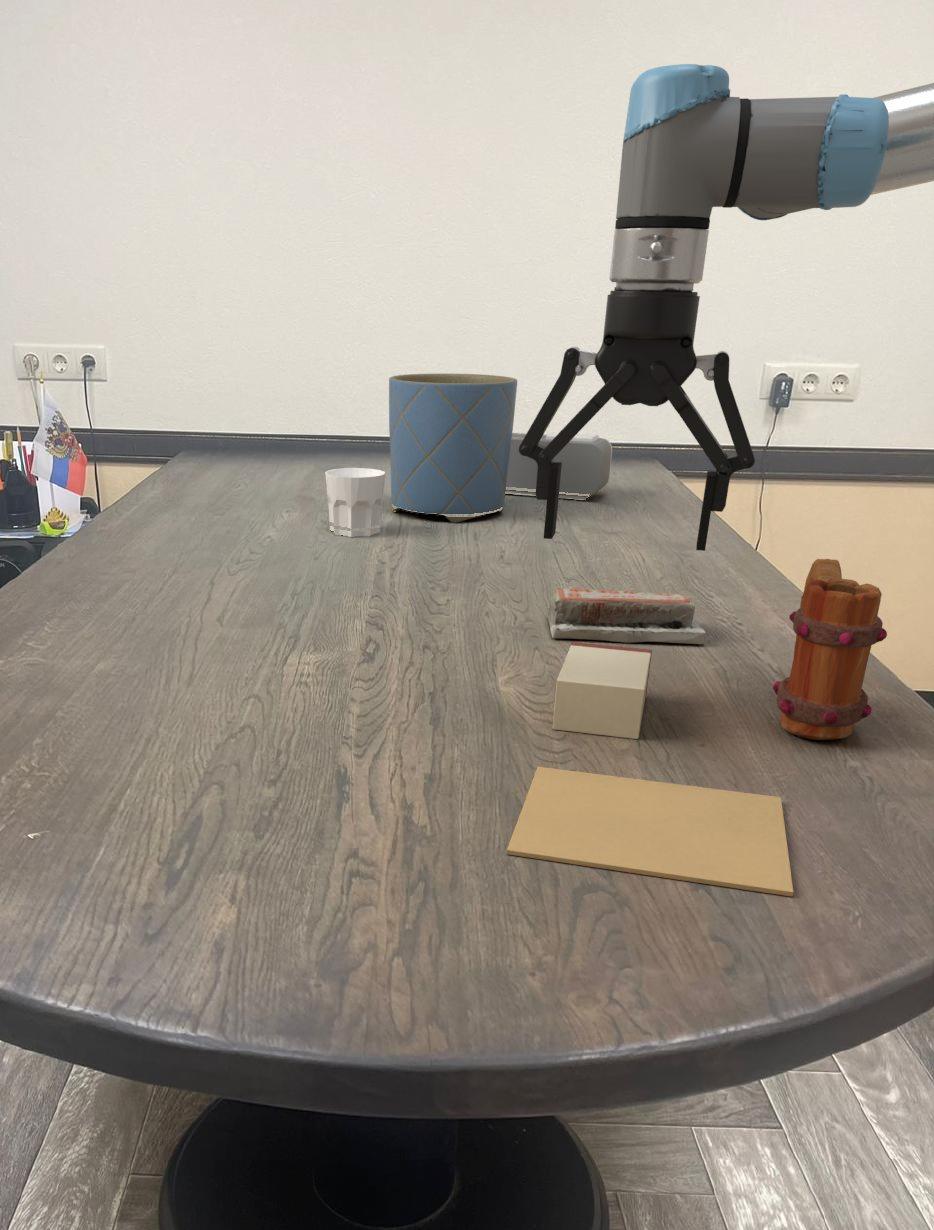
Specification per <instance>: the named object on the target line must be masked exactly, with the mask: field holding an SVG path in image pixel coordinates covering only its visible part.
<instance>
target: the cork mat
mask: <svg viewBox="0 0 934 1230" xmlns="http://www.w3.org/2000/svg"><path fill="white" fill-rule="evenodd" d="M506 855H509V856H515V857H522V858H530V859H537V860H542V861H549V862H556V863H562V864H570V865H575V866H583V867H590V868H596V869H603V870H610V871H616V872H622V873H629V874H630V873H632V874H637V875H643V876H650V877H657V878H664V879H671V880H678V881H683V882H690V883H697V884H702V885H703V884H704V885H709V886H717V887H722V888H723V887H724V888H729V889H730V888H731V889H738V890H745V891H751V892H758V893H764V894H772V895H777V896H784V897H791V898H792V897H794V887H793V885H794V884H793V878H792V870H791V863H790V855H789V847H788V839H787V832H786V824H785V817H784V809H783V801H782V797H781V796H774V795H765V794H759V793H751V792H750V793H749V792H742V791H734V790H726V789H719V788H710V787H703V786H695V785H687V784H678V783H672V782H662V781H656V780H655V781H654V780H648V779H639V778H632V777H624V776H616V775H609V774H599V773H591V772H584V771H576V770H567V769H560V768H553V767H544V766H537V767H536V770H535V773H534V776H533V778H532V781H531V783H530V786H529V788H528V792H527V794H526V797H525V799H524V803H523V805H522V808H521V811H520V813H519V816H518V819H517V821H516V824H515V827H514V830H513V832H512V835H511V837H510V841H509V843H508V846H507V848H506Z"/></svg>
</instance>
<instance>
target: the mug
mask: <svg viewBox="0 0 934 1230" xmlns="http://www.w3.org/2000/svg"><path fill="white" fill-rule="evenodd" d="M842 575H843V574H842V567H841V564H840V561H839V560H838V559H831V558H816V559H815V560H814V561H813V562H812V564H811V566H810V568H809V571H808V574H807V577H806V579H805V584H804V588H803V592H802V596H801V598H800V599H801V600H800V605H799V608H798V609H797V610H795V611H793V612H791V613H790V614H789V620H790V621H791V622H792V624H793V625H792V630H793V632H794V633H795V643H794V649H793V659H792V664H791V668H790V669H791V670H790V673H789V676H788V677H786V678H784V679H783V680H778V681H776V682H775V683H774V684H772V691H773V692H774V694H775V695H776V704H777V708H778V709H779V711H781V713H780V726H781V728H782V729H784V731H786V732H788V733H790V734H791V735H794V736H797V737H799V738H806V739H807V740H816V741H834V740H839V739H840V740H841V739H845V738H847V737H849V736H851V735H852V732H853V730H854V729H853V728H854V725H855V724H857V723H859V722H860V721H862V720H864V719H865V718H868V716H870V715H871V714H872V712H873V709H872V707H871V705H870V704H868V701H869V696H868V695H867V693H866V692H865V690H864V689H863V684H864V680H865V675H866V670H867V667H868V662H869V657H870V654H871V650H872V646H873V645H875V644H877V643H880V642H883V641H884V640H885V639H886V638H887V636H888V632H887V630H886V629H885V628H884V627H883V624H884V623H883V620H882V619H881V618H880V617H879V616H878V615H879V611H880V607H881V599H882V595H883V594H882V592H881V589H880V587H878V586H876V585H873V584H871V583H864V584H859V583H858V581H856V580H854V579H850V578H849V579H847V578H843V577H842Z"/></svg>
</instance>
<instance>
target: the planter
mask: <svg viewBox="0 0 934 1230" xmlns="http://www.w3.org/2000/svg"><path fill="white" fill-rule="evenodd" d="M517 390H518V379H517V378H515V377H510V376H504V375H503V376H502V375H493V374H477V373H412V374H411V373H410V374H398V375H393V376H390V377H389V378H388V424H389V425H388V427H389V428H388V430H389V431H388V432H389V433H388V434H389V460H390V461H389V463H390V501H391V505H392V504H393V505H394V506H396V507H401V508H403V509H407V510H411V511H417V512H424V513H437V514H474V513H483V512H489V511H494V510H497V509H500V508H501V507H503V509H502V510H501V511H500V512H503V510H504V506H505V501H506V500H505V499H506V495H505V491H506V482H507V473H508V464H509V455H510V448H511V440H512V432H513V430H514V421H515V413H516V399H517ZM513 433H514V432H513ZM392 509H393V510H392ZM391 510H392V512H393V511H397V512H398V509H394V508H393V507H392V506H391ZM483 516H485V515H483ZM483 516H482V517H483ZM479 517H480V516H475V517H445V518H446V519H447V520H448V521H449V522H450V523H452V522H456V523H460V522H464V521H467V520H471V519H476V518H479Z"/></svg>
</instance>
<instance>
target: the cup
mask: <svg viewBox="0 0 934 1230" xmlns="http://www.w3.org/2000/svg"><path fill="white" fill-rule="evenodd" d="M324 473H325V483H326V495H327V504H328V505H327V506H328V507H327V508H328V521H329V523H330V522H332V523H334V526H341V527H347V528H350V529H353V528H371V527H372V526H375V525H380V527H379V528H374V529H371V531H366V530H364V531H352V532H351V531H347V530H340V529H334V527H333V526H330V525H329V531H330V530H331V531H334V532H333V533H334V536H341V535H343V536H342V537H348V538H357V537H371V536H373V535H376V534H381V523H382V512H383V511H382V510H383V500H384V492H385V491H384V489H385V481H386V480H385V479H386V471H384V470H381V469H376V468H367V467H344V468H343V467H342V468H334V469H329V470H326V471H325V472H324ZM331 531H330V532H331Z"/></svg>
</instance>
